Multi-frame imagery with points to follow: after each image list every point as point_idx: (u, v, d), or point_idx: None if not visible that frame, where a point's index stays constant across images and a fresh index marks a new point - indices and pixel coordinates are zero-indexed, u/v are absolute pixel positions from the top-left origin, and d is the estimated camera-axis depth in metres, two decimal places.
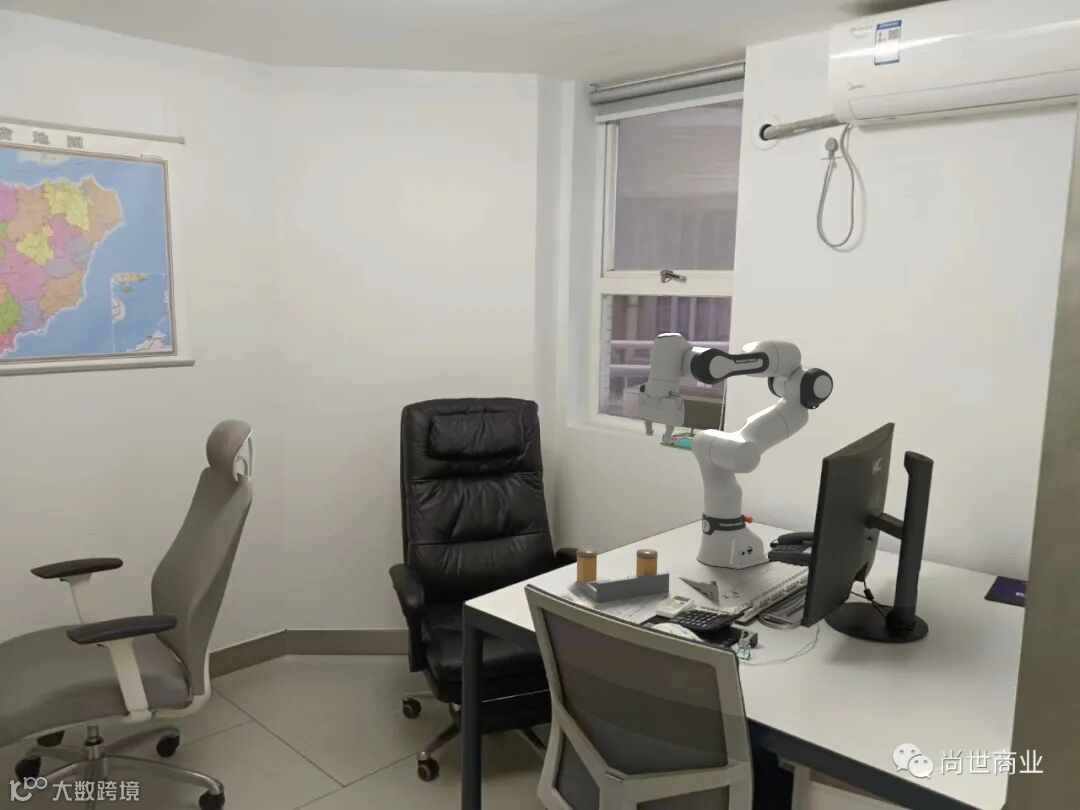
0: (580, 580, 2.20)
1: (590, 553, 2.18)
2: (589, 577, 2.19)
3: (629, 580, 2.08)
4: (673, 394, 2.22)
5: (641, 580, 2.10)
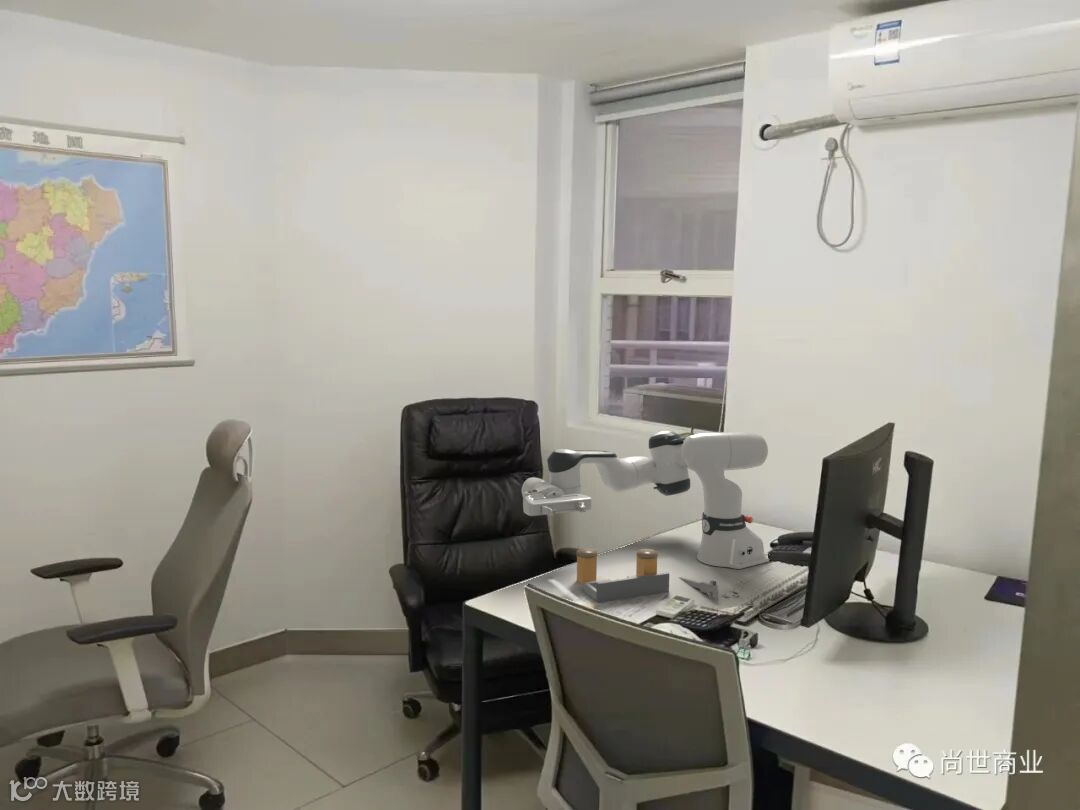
0: (580, 580, 2.20)
1: (590, 553, 2.18)
2: (589, 577, 2.19)
3: (629, 580, 2.08)
4: None
5: (641, 580, 2.10)
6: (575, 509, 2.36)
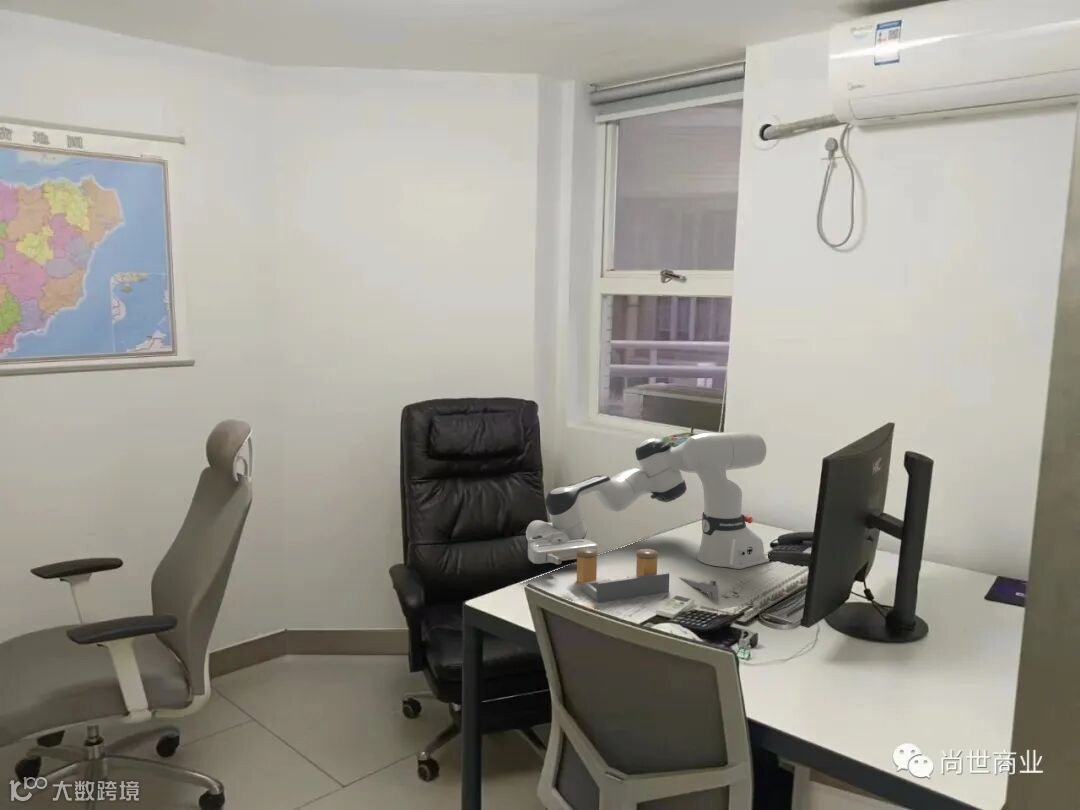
0: (580, 580, 2.20)
1: (590, 553, 2.18)
2: (589, 577, 2.19)
3: (629, 580, 2.08)
4: None
5: (641, 580, 2.10)
6: None
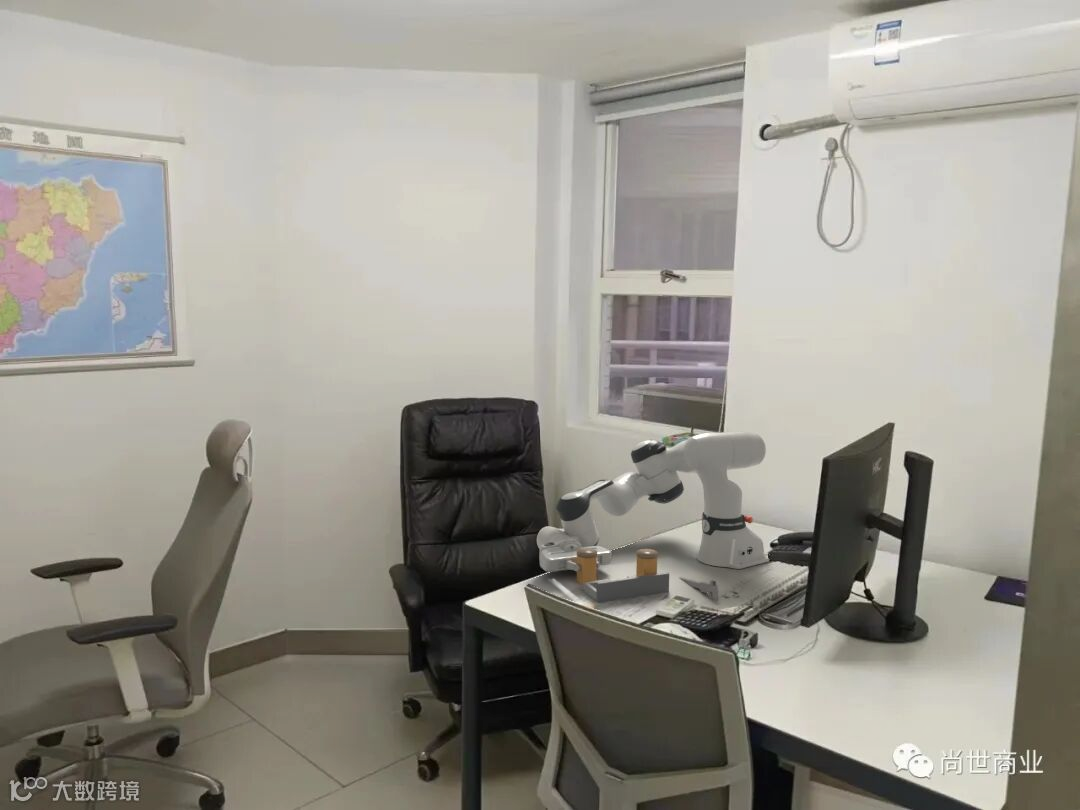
0: (580, 580, 2.20)
1: (590, 553, 2.18)
2: (589, 577, 2.19)
3: (629, 580, 2.08)
4: None
5: (641, 580, 2.10)
6: None
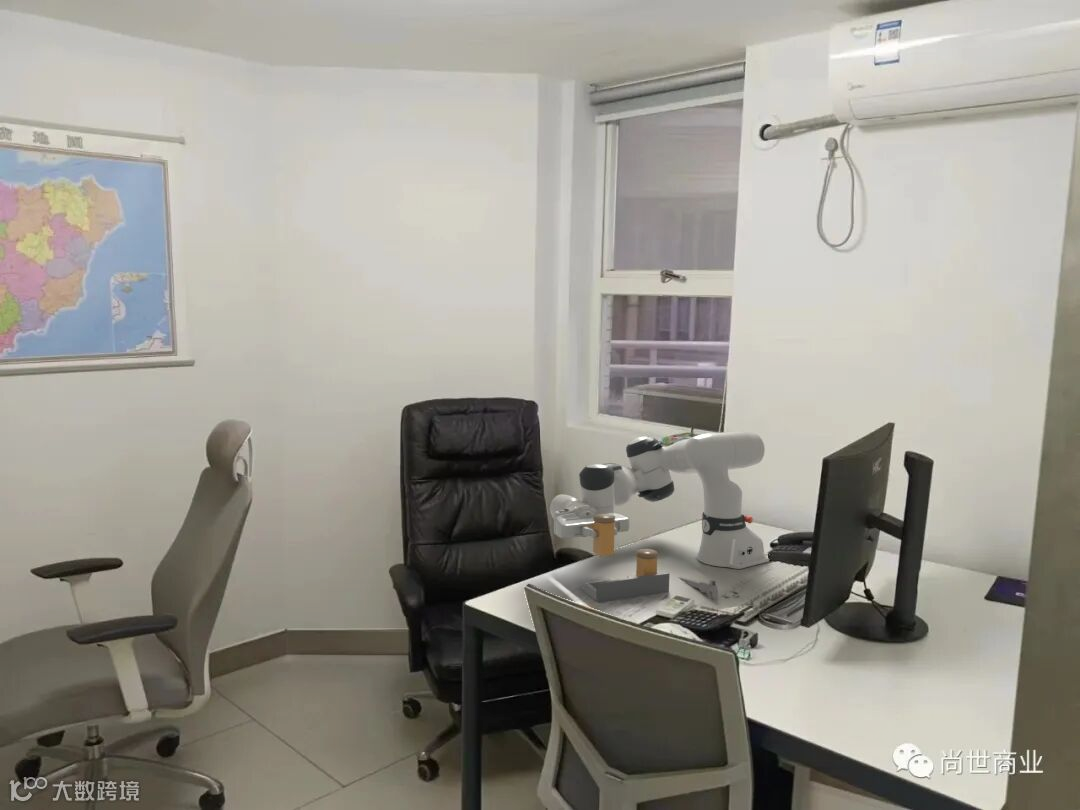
0: (597, 547, 2.09)
1: (608, 518, 2.07)
2: (607, 544, 2.08)
3: (629, 580, 2.08)
4: None
5: (641, 580, 2.10)
6: None
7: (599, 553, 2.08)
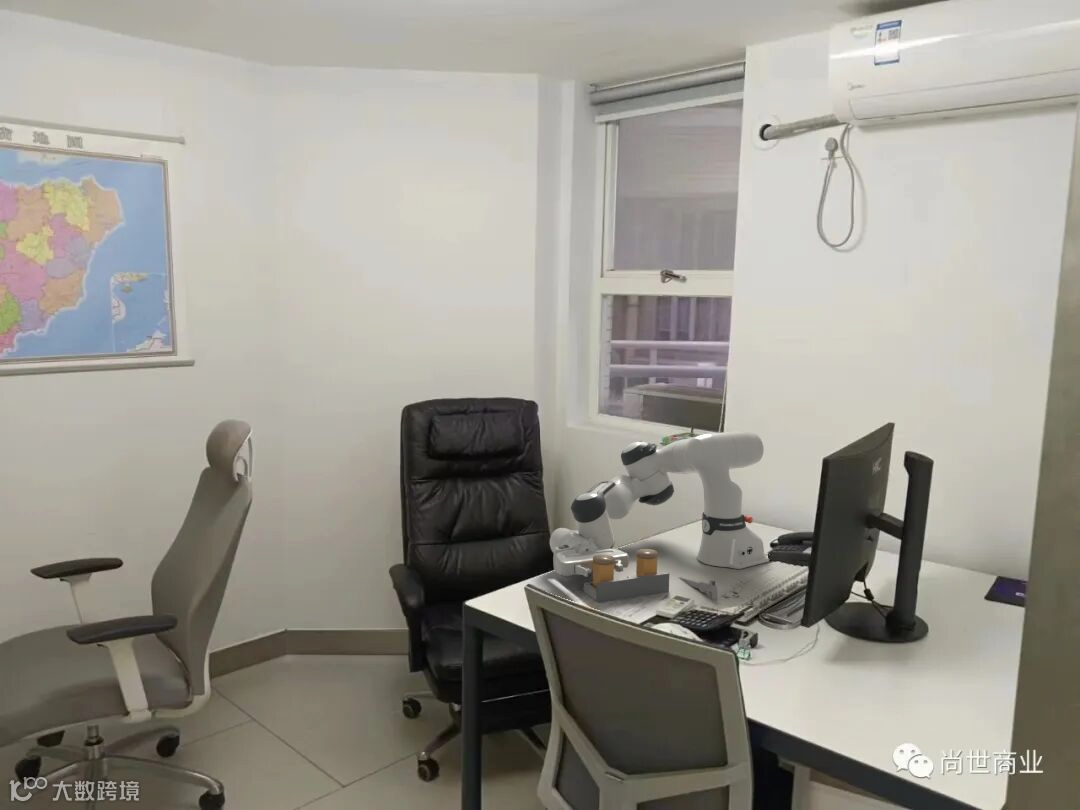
0: None
1: (607, 560, 2.08)
2: None
3: (629, 580, 2.08)
4: None
5: (641, 580, 2.10)
6: None
7: None
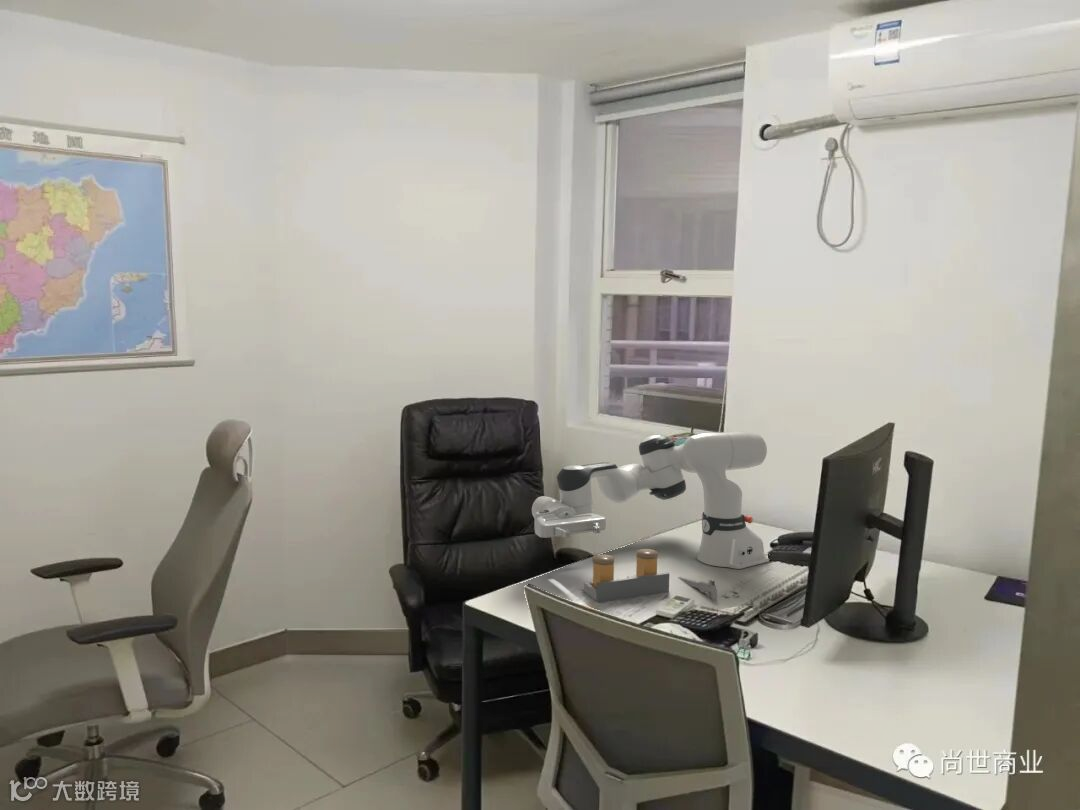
0: None
1: (607, 560, 2.08)
2: None
3: (629, 580, 2.08)
4: None
5: (641, 580, 2.10)
6: (589, 530, 2.27)
7: None
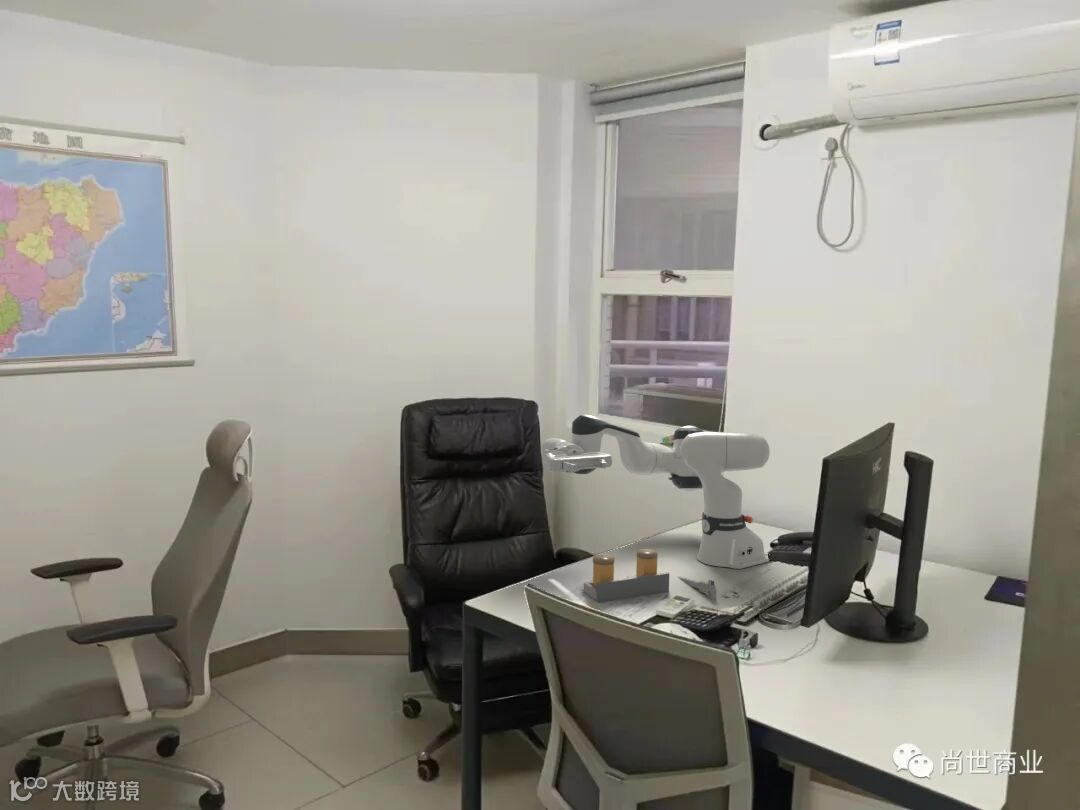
0: None
1: (607, 560, 2.08)
2: None
3: (629, 580, 2.08)
4: None
5: (641, 580, 2.10)
6: (595, 466, 2.39)
7: None
